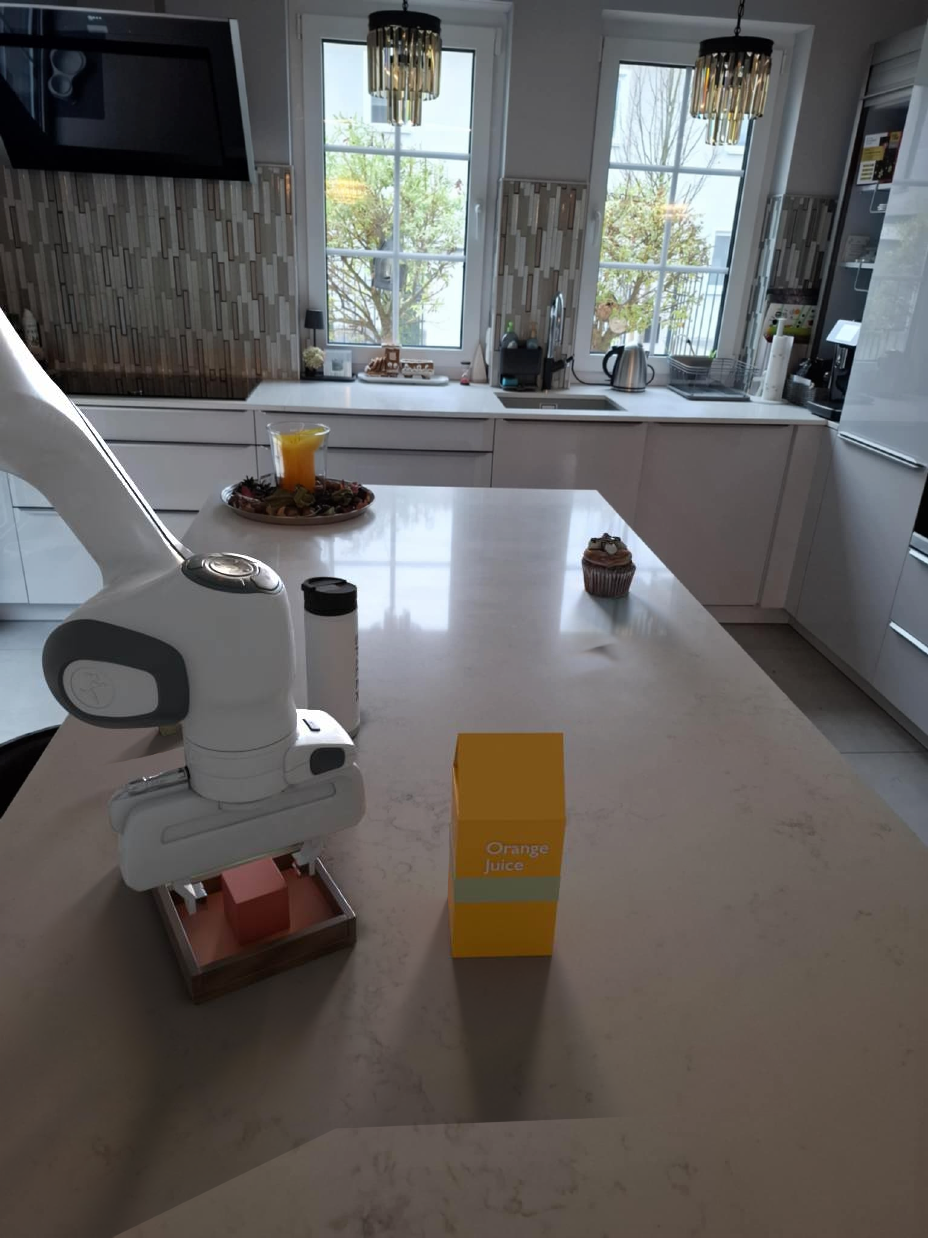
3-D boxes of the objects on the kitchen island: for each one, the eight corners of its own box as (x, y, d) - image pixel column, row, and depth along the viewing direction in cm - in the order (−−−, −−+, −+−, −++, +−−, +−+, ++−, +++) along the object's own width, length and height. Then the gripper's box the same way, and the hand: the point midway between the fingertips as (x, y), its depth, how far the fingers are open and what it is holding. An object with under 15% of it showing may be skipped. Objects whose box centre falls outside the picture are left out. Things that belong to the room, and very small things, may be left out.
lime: (207, 732, 106) (204, 696, 104) (180, 751, 102) (176, 714, 100) (179, 723, 108) (175, 688, 106) (151, 741, 104) (146, 705, 102)
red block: (239, 946, 73) (236, 904, 71) (224, 913, 77) (220, 872, 75) (290, 928, 75) (288, 886, 74) (273, 896, 79) (270, 856, 77)
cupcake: (621, 604, 150) (627, 548, 146) (570, 591, 154) (575, 537, 150) (641, 587, 157) (648, 534, 153) (592, 576, 162) (597, 524, 158)
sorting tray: (194, 1005, 69) (191, 977, 68) (135, 848, 86) (132, 823, 85) (356, 943, 76) (356, 916, 74) (272, 808, 93) (270, 785, 92)
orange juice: (446, 896, 81) (453, 709, 73) (539, 894, 82) (556, 709, 74) (451, 959, 74) (459, 760, 66) (553, 957, 75) (574, 759, 67)
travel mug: (297, 728, 108) (289, 577, 100) (342, 712, 112) (338, 566, 104) (323, 749, 104) (318, 594, 96) (369, 732, 108) (368, 582, 100)
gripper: (113, 810, 62) (133, 957, 67) (374, 742, 72) (373, 876, 77) (97, 766, 67) (117, 906, 72) (343, 708, 77) (344, 836, 82)
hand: (251, 890), depth 75 cm, fingers open, 8 cm apart
